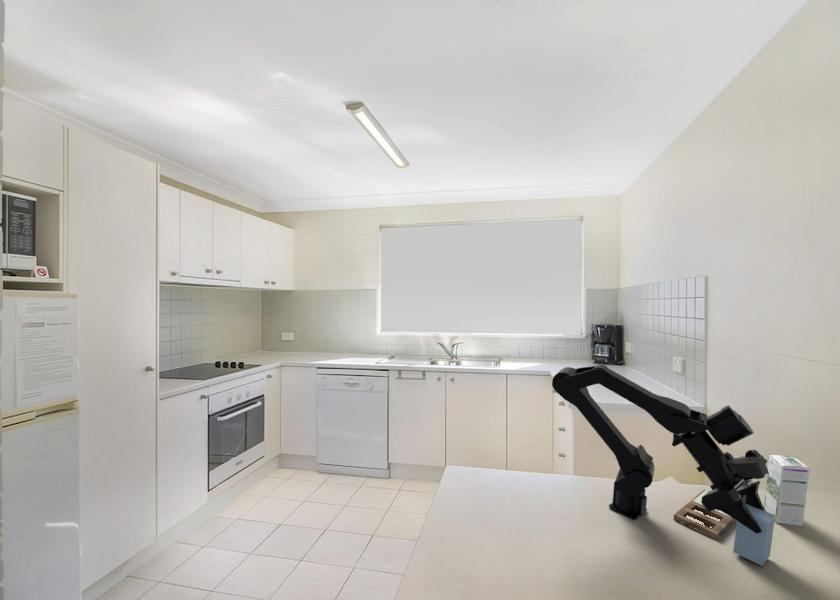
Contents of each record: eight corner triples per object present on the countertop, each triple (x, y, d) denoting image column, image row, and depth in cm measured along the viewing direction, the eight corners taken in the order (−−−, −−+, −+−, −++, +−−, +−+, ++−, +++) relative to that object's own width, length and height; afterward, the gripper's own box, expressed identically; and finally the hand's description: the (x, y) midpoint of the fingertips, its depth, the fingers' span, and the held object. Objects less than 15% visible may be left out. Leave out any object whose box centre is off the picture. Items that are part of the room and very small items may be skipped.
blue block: (733, 552, 93) (738, 512, 92) (741, 542, 96) (746, 503, 95) (762, 565, 89) (767, 524, 88) (769, 555, 92) (775, 515, 91)
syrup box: (804, 526, 103) (812, 467, 101) (775, 523, 104) (782, 464, 103) (789, 512, 109) (796, 456, 107) (761, 509, 110) (768, 453, 108)
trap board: (673, 519, 105) (674, 513, 105) (703, 494, 116) (704, 489, 116) (716, 539, 98) (717, 533, 98) (744, 510, 109) (745, 505, 109)
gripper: (725, 452, 87) (789, 534, 80) (756, 429, 99) (814, 499, 91) (678, 473, 94) (733, 550, 87) (712, 449, 106) (763, 516, 98)
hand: (763, 527), depth 91 cm, fingers closed on blue block, 5 cm apart
